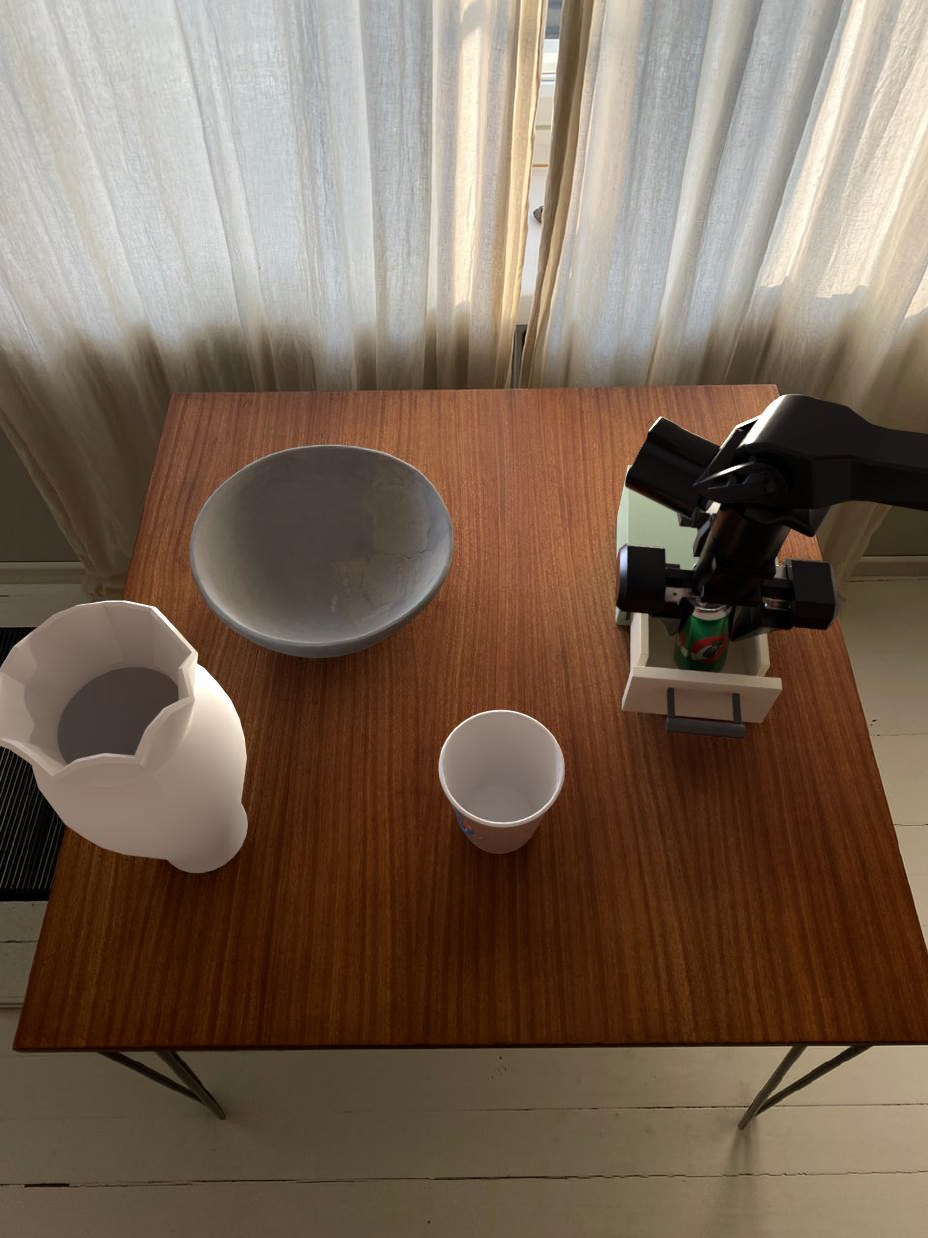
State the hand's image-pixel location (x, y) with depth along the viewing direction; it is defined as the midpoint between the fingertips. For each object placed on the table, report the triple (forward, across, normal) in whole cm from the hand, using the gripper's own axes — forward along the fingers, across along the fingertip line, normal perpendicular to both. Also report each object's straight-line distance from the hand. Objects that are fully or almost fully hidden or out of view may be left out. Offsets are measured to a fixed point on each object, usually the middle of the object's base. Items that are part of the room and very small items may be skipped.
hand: (701, 634), depth 84 cm
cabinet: (+7, 0, -12) cm, 14 cm away
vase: (+8, +45, +22) cm, 50 cm away
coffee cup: (+7, +18, +18) cm, 26 cm away
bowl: (+8, +38, -6) cm, 39 cm away
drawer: (+6, 0, +1) cm, 6 cm away
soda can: (+5, -1, 0) cm, 5 cm away
